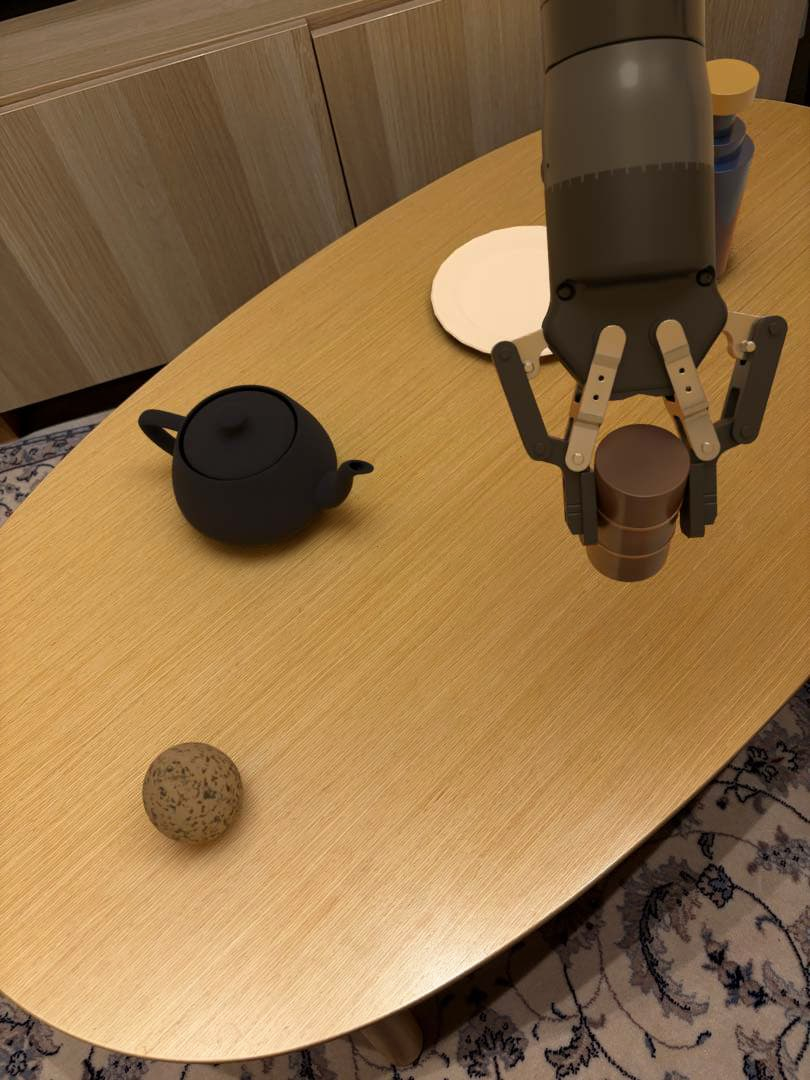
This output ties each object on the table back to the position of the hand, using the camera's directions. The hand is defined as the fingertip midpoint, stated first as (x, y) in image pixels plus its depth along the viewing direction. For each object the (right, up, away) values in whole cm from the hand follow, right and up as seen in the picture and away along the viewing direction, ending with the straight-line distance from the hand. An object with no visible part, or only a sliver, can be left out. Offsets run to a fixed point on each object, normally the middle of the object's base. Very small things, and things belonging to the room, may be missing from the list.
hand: (640, 536), depth 43 cm
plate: (+2, +27, +53) cm, 59 cm away
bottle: (+20, +31, +53) cm, 64 cm away
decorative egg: (-27, -22, +26) cm, 43 cm away
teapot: (-25, +4, +42) cm, 49 cm away
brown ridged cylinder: (0, -1, +4) cm, 5 cm away
